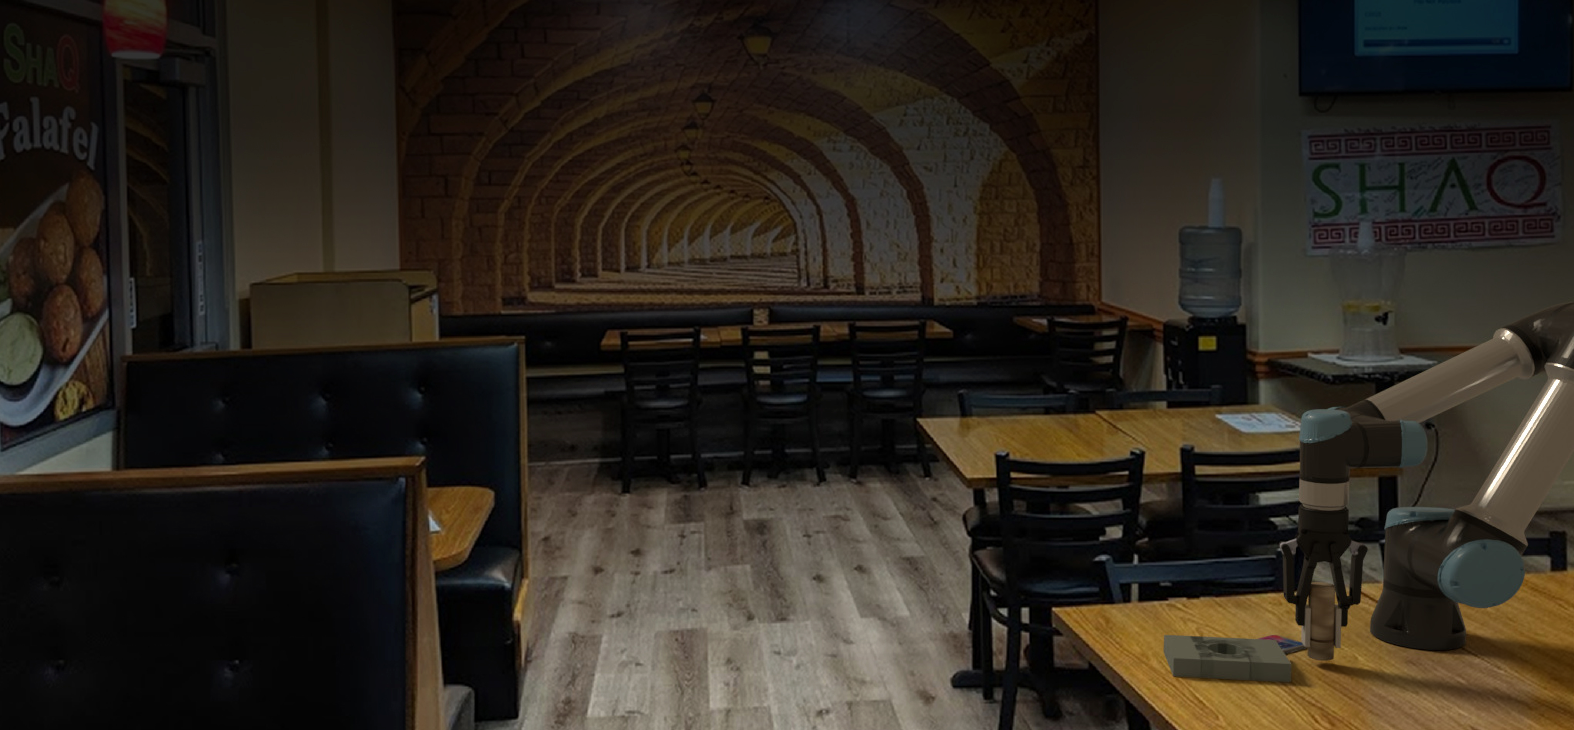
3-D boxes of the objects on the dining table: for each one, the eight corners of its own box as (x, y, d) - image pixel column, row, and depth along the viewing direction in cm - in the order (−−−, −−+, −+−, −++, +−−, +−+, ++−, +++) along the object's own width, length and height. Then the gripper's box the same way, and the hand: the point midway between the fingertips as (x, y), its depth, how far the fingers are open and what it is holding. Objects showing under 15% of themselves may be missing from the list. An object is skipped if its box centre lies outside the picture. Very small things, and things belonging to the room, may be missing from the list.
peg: (1330, 652, 211) (1331, 582, 210) (1336, 660, 207) (1338, 589, 206) (1304, 651, 212) (1305, 581, 210) (1310, 660, 208) (1311, 588, 206)
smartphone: (1216, 648, 217) (1273, 633, 224) (1216, 653, 217) (1273, 638, 225) (1252, 659, 210) (1310, 643, 218) (1252, 665, 210) (1310, 649, 218)
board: (1274, 657, 213) (1275, 639, 213) (1290, 682, 202) (1291, 663, 201) (1163, 651, 216) (1164, 634, 216) (1173, 676, 204) (1173, 658, 204)
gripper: (1372, 500, 209) (1369, 638, 211) (1263, 499, 212) (1261, 635, 214) (1386, 510, 202) (1382, 653, 204) (1273, 509, 204) (1271, 650, 207)
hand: (1320, 644), depth 209 cm, fingers closed on peg, 4 cm apart
